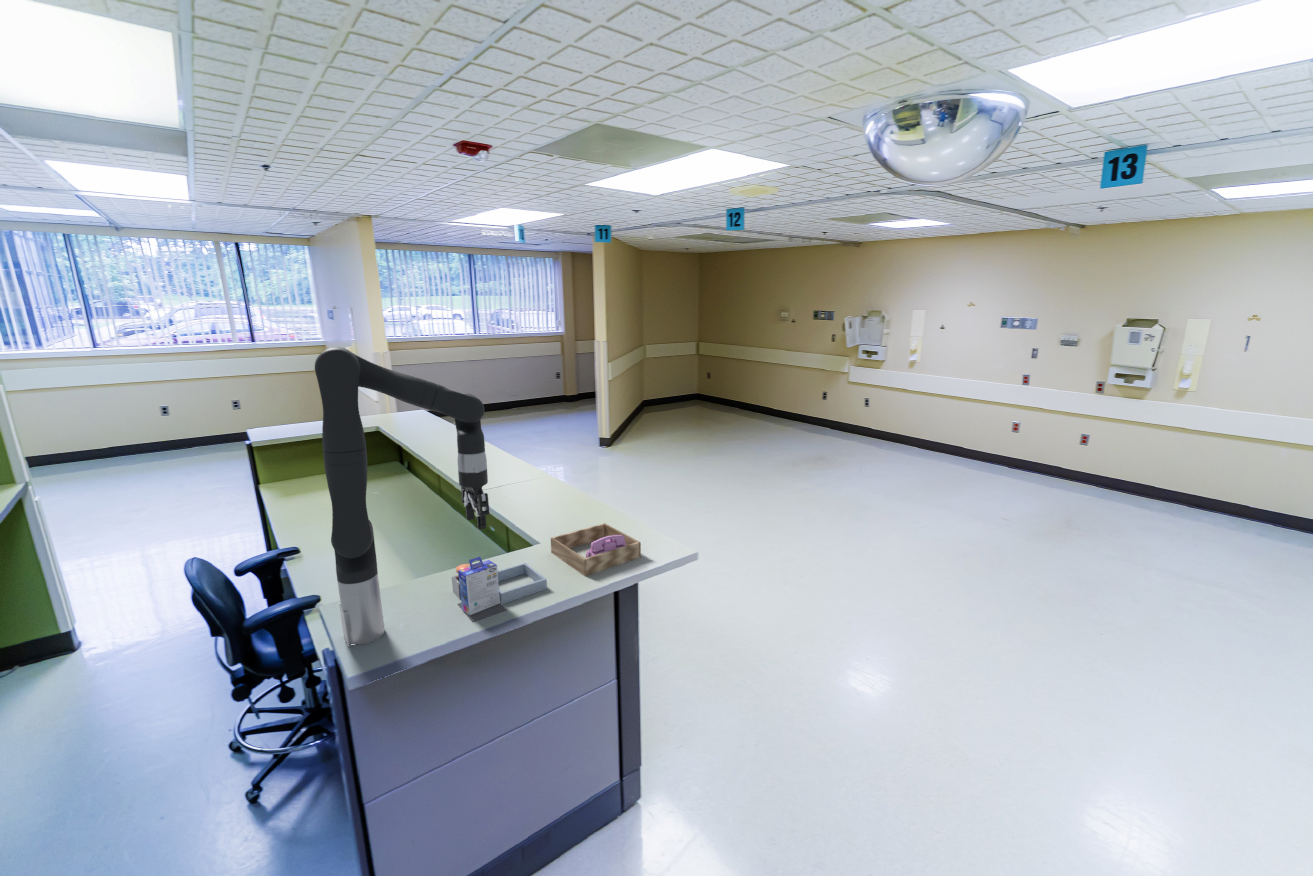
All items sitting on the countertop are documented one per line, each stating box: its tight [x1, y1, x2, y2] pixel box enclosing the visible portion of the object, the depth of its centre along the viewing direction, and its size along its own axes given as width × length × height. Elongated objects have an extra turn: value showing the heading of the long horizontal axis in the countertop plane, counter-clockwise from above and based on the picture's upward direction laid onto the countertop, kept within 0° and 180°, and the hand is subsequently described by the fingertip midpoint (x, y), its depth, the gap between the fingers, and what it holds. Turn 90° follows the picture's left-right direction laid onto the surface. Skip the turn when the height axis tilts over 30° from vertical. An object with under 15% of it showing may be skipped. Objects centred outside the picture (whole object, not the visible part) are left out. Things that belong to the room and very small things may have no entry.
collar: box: [498, 562, 548, 605], centre depth 172 cm, size 15×15×4 cm
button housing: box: [451, 575, 461, 600], centre depth 168 cm, size 6×6×5 cm
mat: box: [457, 602, 508, 623], centre depth 160 cm, size 10×12×1 cm
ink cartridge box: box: [457, 556, 500, 615], centre depth 159 cm, size 10×6×14 cm, turn 135°
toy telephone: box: [585, 535, 626, 558], centre depth 187 cm, size 18×6×10 cm, turn 125°
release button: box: [455, 563, 470, 574], centre depth 168 cm, size 5×5×8 cm
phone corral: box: [550, 523, 642, 577], centre depth 194 cm, size 23×23×6 cm
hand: (476, 523), depth 155 cm, fingers open, 8 cm apart
